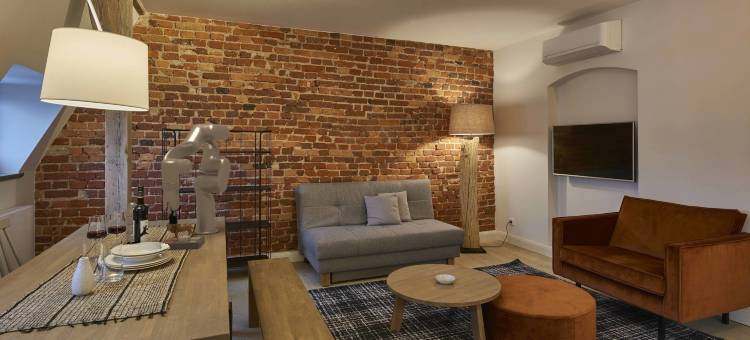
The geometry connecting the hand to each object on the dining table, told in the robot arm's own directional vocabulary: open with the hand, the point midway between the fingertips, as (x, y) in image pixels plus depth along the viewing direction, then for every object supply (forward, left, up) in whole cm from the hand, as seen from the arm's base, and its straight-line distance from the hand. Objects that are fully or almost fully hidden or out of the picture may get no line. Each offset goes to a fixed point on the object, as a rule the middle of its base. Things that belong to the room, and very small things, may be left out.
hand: (173, 223), depth 203 cm
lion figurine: (-17, -2, -11) cm, 21 cm away
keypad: (+2, +5, -11) cm, 12 cm away
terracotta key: (+1, 0, -9) cm, 10 cm away
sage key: (+1, +10, -9) cm, 14 cm away
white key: (+1, +5, -9) cm, 10 cm away
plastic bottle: (-9, -22, -11) cm, 26 cm away
